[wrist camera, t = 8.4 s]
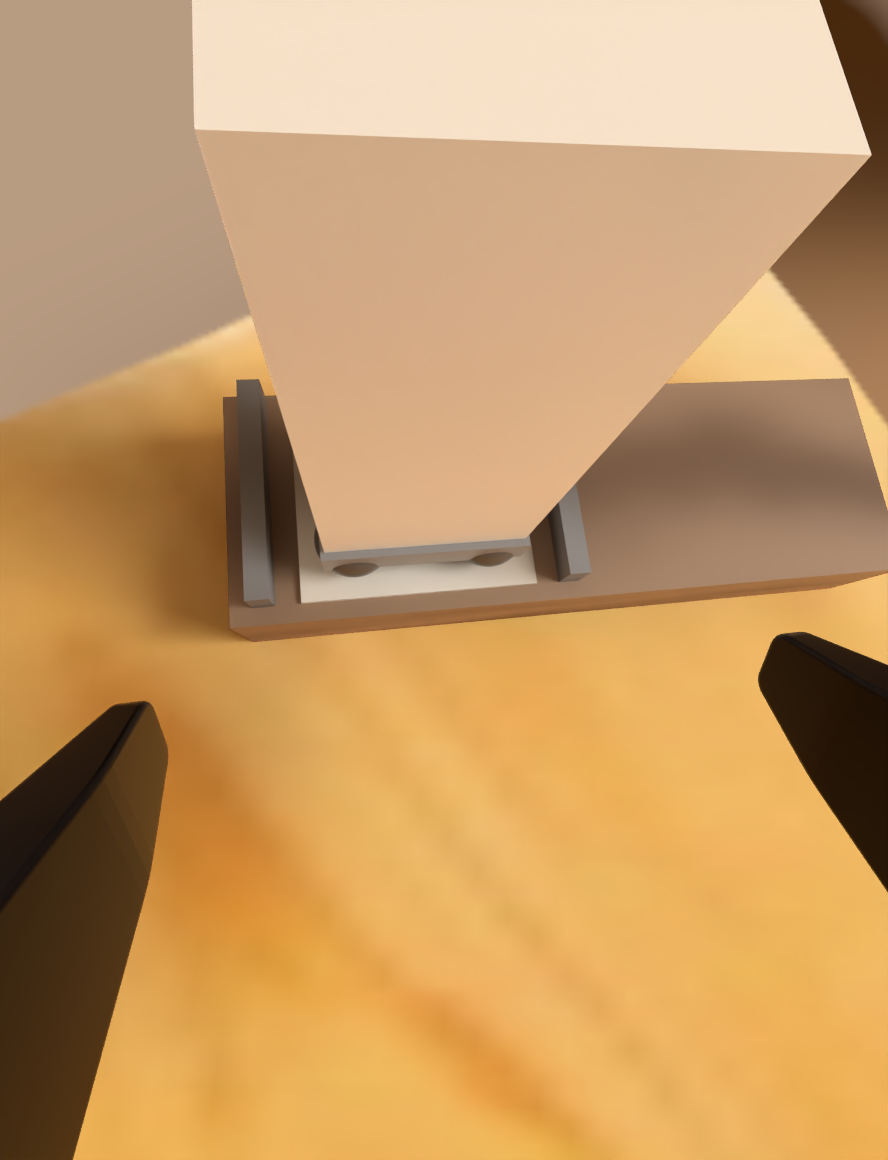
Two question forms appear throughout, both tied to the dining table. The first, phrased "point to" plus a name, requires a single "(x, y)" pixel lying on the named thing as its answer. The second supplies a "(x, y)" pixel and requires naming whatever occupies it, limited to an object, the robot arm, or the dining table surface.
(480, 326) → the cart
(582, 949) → the dining table surface
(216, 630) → the dining table surface
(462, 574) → the dock
